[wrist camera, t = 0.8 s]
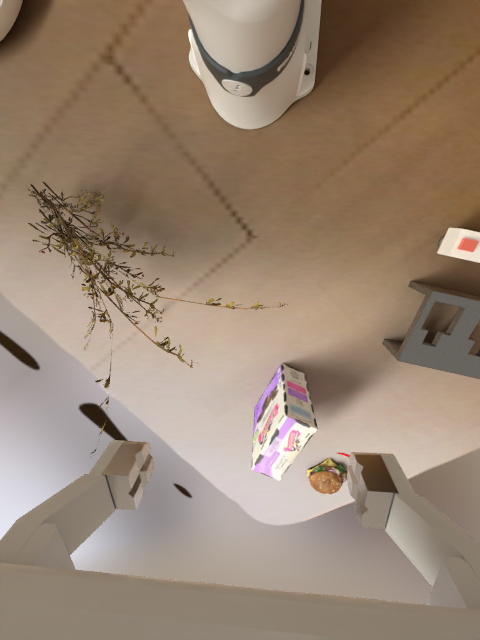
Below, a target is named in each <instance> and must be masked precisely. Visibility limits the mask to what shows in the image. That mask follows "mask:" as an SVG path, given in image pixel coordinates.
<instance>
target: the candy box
mask: <svg viewBox="0 0 480 640" xmlns="http://www.w3.org/2000/svg"><path fill="white" fill-rule="evenodd" d="M317 430H318V428H317V424H316V419H315V415H314V411H313V406H312V402H311V398H310V393H309V390H308V385H307V381H306V376H305V373H302V372H300V371H298V370H295V369H293V368H291V367H289V366H287V365H285V364H281V365H280V367H279V368H278V370H277V372H276V373H275V375H274V377H273V378H272V380H271V382H270V384H269V385H268V387H267V389H266V390H265V392H264V394H263V395H262V397H261V399H260V400H259V402H258V404H257V405H256V407H255V412H254V432H253V451H252V470H254V471H256V472H259V473H261V474H264V475H266V476H269V477H271V478H274V479H276V480H279V481H280V480H281V478H282V476H283V475H284V473H285V472H286V470H287V469H288V468H289V466H290V465H291V464H292V463H293V461H294V460H295V459H296V457H297V456H298V455H299V453H300V452H301V451H302V449H303V448H304V446H305V445H306V444H307V442H308V441H309V440H310V438H311V437H312V436H313V434H314V433H315V432H316V431H317Z"/></svg>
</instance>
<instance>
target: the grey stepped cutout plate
mask: <svg viewBox="0 0 480 640" xmlns="http://www.w3.org/2000/svg"><path fill="white" fill-rule="evenodd" d="M409 287H411V288H413V289H415V290H417V291H419V292H421V293H423V294H425V295H426V296H425V298H424V300H423V302H422V304H421V306H420V308H419V310H418V312H417V314H416V316H415V318H414V320H413V322H412V325H411V327H410V329H409V331H408V333H407V335H406V337H405V339H404V341H403V343H400V342H395V341H391V340H386V339H384V341H383V343H382V344H383V345H384V346H385V347H386V348H387V349H388V350H389V351H390V352H391V353H392V354H393V356H394V357H395V358H396V359H397V360H398V361H401V362H405V363H410V364H414V365H419V366H423V367H428V368H432V369H437V370H441V371H446V372H450V373H455V374H459V375H464V376H468V377H473V378H477V379H480V349H479V351H478V352H477V354H475V353H470V350H471V348H472V347H473V345H474V343H475V341H474V340H473V339H471V338H469V337H470V335H471V333H472V332H473V330H474V328H475V327H476V325H477V323H478V322H479V320H480V296H477V295H472V294H467V293H463V292H458V291H454V290H449V289H445V288H440V287H436V286H431V285H426V284H422V283H417V282H413V281H410V283H409ZM435 301H436V302H441V303H445V304H450V305H454V306H459V309H458V311H457V313H456V315H455V317H454V318H453V320H452V322H451V324H450V326H449V328H448V329H447V331H446V333H444V332H440V331H438V332H437V334H436V336H435V338H434V340H433V342H432V344H430V343H425V342H423V340H424V338H425V336H426V335H427V333H428V330H426V329H425V328H422V326H423V324H424V322H425V320H426V318H427V316H428V314H429V312H430V310H431V308H432V306H433V304H434V302H435Z"/></svg>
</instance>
